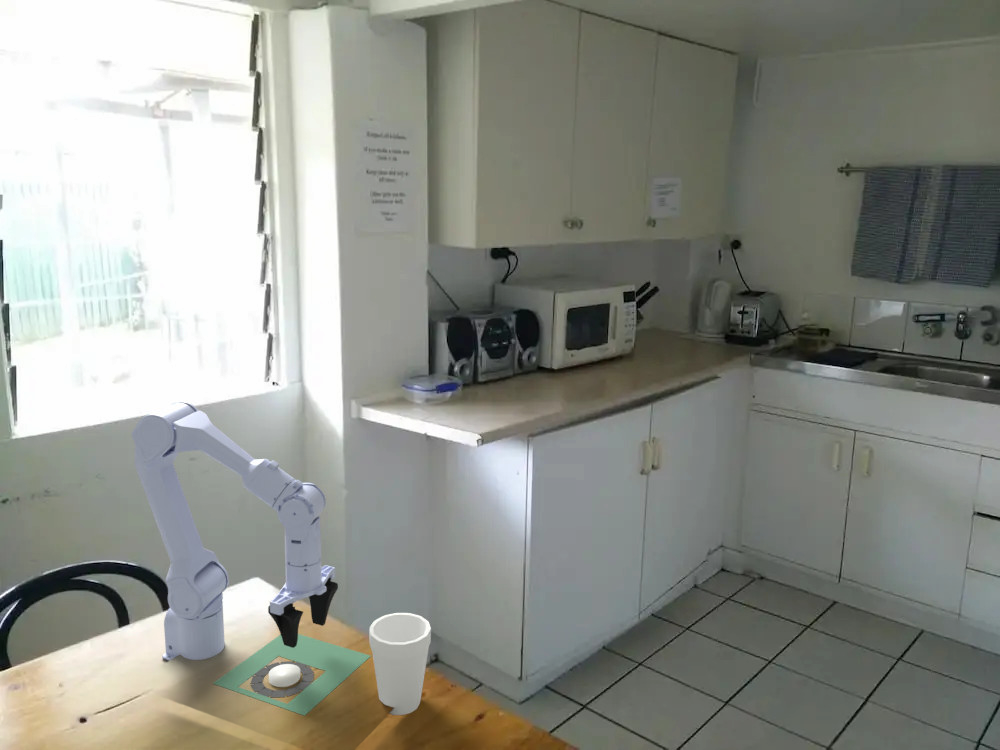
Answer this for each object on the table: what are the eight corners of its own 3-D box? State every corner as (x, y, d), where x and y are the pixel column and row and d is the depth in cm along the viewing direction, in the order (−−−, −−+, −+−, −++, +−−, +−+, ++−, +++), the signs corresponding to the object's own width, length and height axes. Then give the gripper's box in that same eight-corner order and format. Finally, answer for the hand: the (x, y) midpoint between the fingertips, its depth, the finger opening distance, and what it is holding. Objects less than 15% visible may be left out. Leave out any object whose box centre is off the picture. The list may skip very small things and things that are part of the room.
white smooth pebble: (262, 690, 129) (261, 676, 128) (282, 674, 133) (282, 661, 133) (287, 698, 127) (286, 684, 126) (307, 682, 131) (306, 668, 131)
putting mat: (213, 691, 128) (212, 683, 128) (286, 637, 144) (286, 630, 144) (304, 724, 121) (304, 715, 120) (371, 663, 137) (371, 655, 137)
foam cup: (419, 725, 121) (419, 648, 118) (361, 716, 123) (360, 640, 120) (436, 689, 130) (437, 616, 127) (382, 681, 132) (382, 609, 129)
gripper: (294, 583, 123) (296, 662, 126) (349, 547, 136) (350, 620, 139) (258, 572, 126) (260, 650, 128) (315, 538, 138) (316, 610, 141)
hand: (304, 634), depth 134 cm, fingers open, 7 cm apart
